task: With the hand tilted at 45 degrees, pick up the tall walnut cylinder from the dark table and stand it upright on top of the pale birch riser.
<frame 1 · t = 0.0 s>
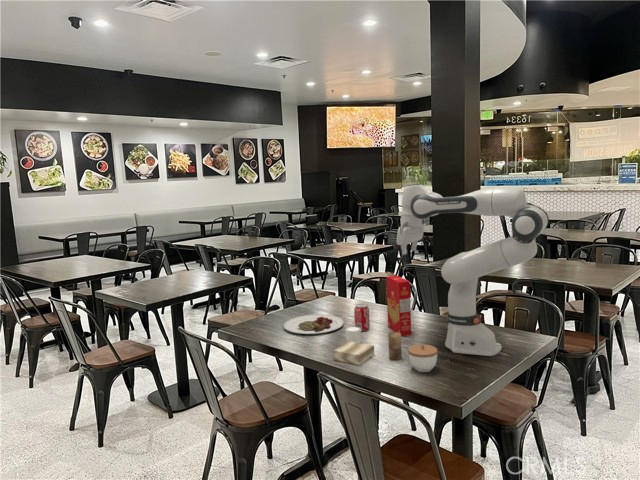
hand: (409, 252, 209), 39 cm above the table, tool pointing down, fingers open, 8 cm apart
food packaging: (399, 331, 224), on the table
walnut cylinder: (395, 357, 191), on the table
plated food: (313, 327, 238), on the table
lidded jar: (423, 369, 179), on the table
soda can: (362, 330, 229), on the table
shot glass: (353, 344, 209), on the table
birch riser: (354, 357, 194), on the table
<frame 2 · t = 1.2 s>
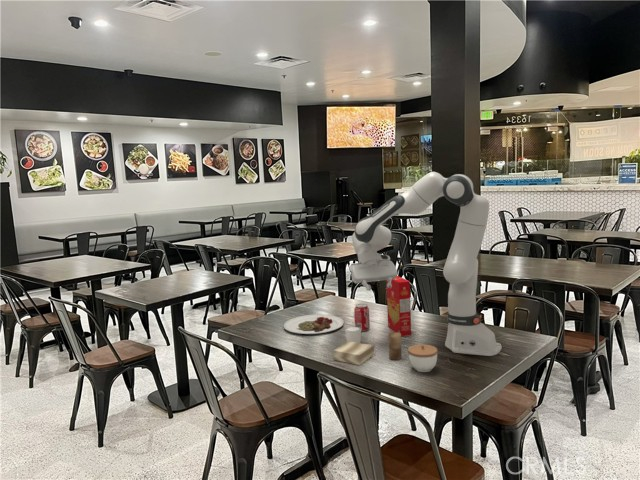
hand: (379, 288, 200), 26 cm above the table, tool tilted 45°, fingers open, 8 cm apart
nothing on the table moved.
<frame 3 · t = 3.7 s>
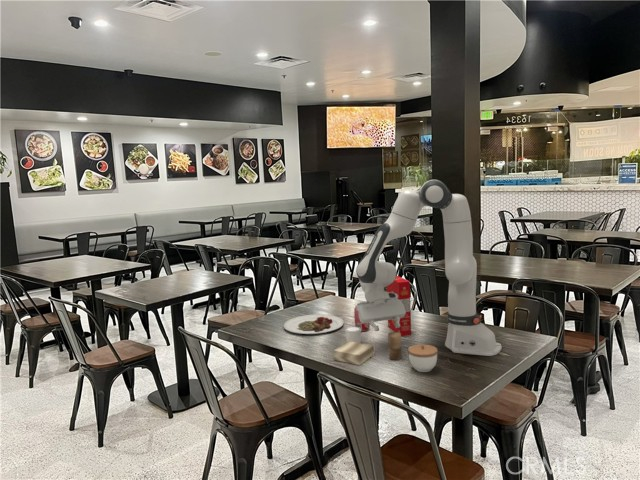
hand: (387, 328, 196), 10 cm above the table, tool tilted 45°, fingers open, 8 cm apart
nothing on the table moved.
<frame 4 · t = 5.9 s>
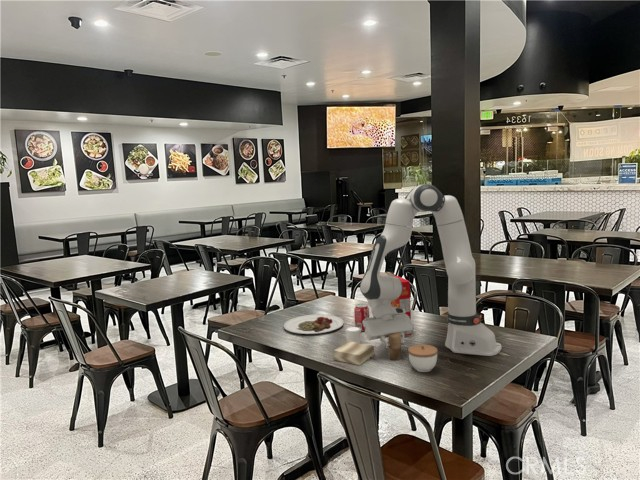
hand: (395, 345, 190), 5 cm above the table, tool tilted 45°, fingers closed on walnut cylinder, 5 cm apart
walnut cylinder: (395, 357, 191), on the table, touching gripper
everything else where it was.
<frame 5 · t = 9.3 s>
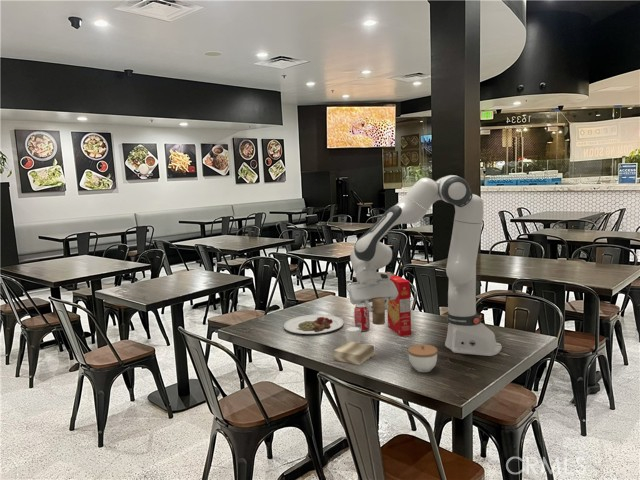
hand: (379, 310, 189), 20 cm above the table, tool tilted 45°, fingers closed on walnut cylinder, 5 cm apart
walnut cylinder: (378, 322, 190), point 15 cm above the table, touching gripper
everything else where it was.
when the fingers open (11 cm above the table, at t = 12.6 s): walnut cylinder drops 1 cm, resting on birch riser.
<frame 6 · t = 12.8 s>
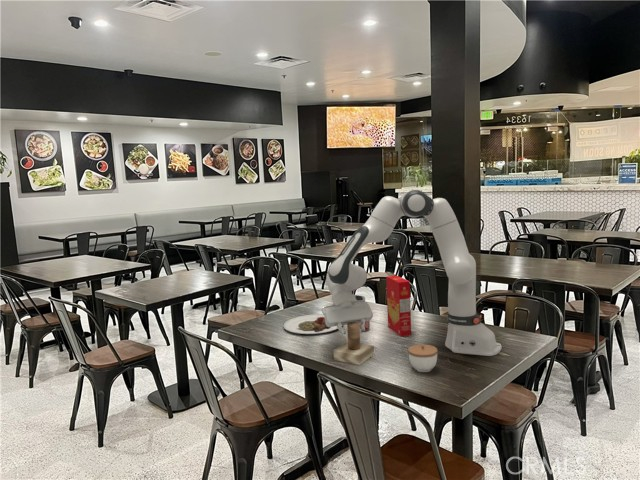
hand: (353, 332, 192), 11 cm above the table, tool tilted 45°, fingers open, 7 cm apart
walnut cylinder: (354, 347, 194), point 4 cm above the table, touching birch riser
everything else where it was.
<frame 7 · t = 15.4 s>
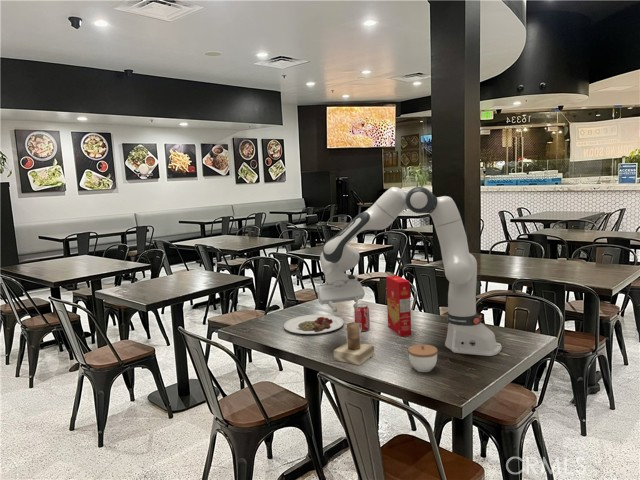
hand: (346, 309, 198), 18 cm above the table, tool tilted 45°, fingers open, 8 cm apart
nothing on the table moved.
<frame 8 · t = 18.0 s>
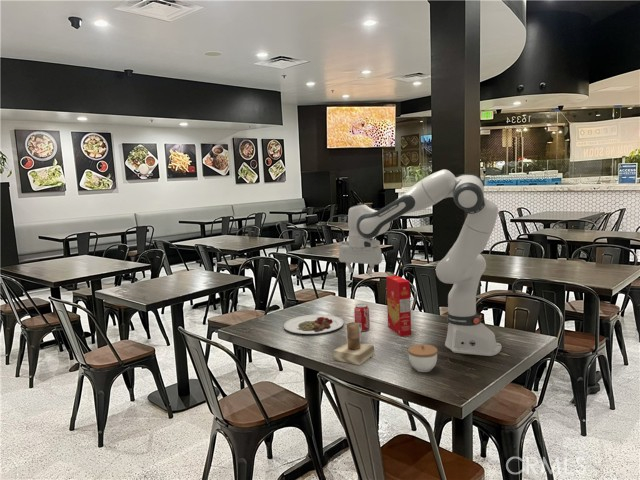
hand: (360, 273, 208), 31 cm above the table, tool pointing down, fingers open, 8 cm apart
nothing on the table moved.
at the end: walnut cylinder inside the target area on the birch riser (0.0 cm from its centre), point 4.0 cm above the birch riser's base; walnut cylinder tilted 0°; the gripper is holding nothing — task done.
